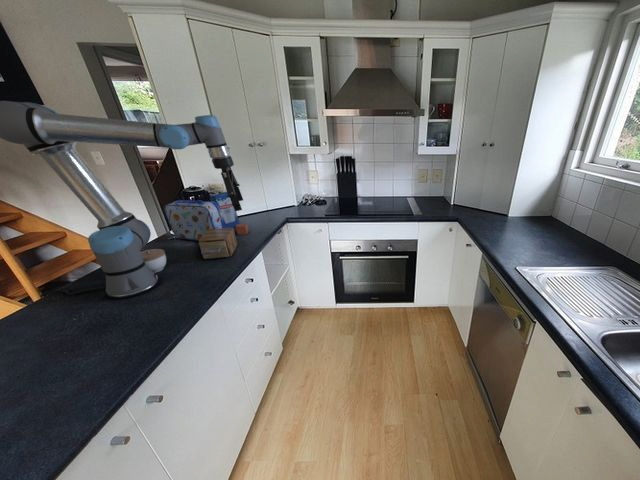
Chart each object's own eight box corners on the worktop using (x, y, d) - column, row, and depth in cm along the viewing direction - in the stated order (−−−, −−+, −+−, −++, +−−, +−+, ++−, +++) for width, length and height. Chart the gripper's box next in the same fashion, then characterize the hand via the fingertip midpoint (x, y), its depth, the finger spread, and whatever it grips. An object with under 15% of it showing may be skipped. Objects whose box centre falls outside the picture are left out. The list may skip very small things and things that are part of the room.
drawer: (225, 261, 124) (221, 245, 121) (200, 263, 122) (195, 248, 118) (234, 245, 140) (230, 231, 137) (212, 247, 138) (207, 233, 134)
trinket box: (153, 277, 113) (145, 257, 109) (132, 274, 115) (123, 254, 111) (176, 265, 122) (169, 246, 118) (156, 263, 124) (148, 244, 120)
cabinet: (231, 256, 131) (226, 237, 127) (204, 258, 128) (198, 240, 124) (237, 244, 144) (233, 227, 140) (213, 246, 141) (207, 229, 137)
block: (237, 234, 156) (235, 226, 154) (239, 231, 160) (237, 223, 158) (247, 234, 157) (245, 226, 155) (248, 231, 161) (246, 223, 159)
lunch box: (231, 235, 155) (221, 197, 145) (220, 242, 145) (208, 202, 136) (185, 233, 157) (173, 195, 147) (171, 240, 147) (157, 200, 138)
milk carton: (223, 229, 163) (215, 196, 155) (218, 227, 166) (209, 195, 157) (239, 224, 171) (231, 193, 162) (233, 223, 174) (225, 191, 165)
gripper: (228, 161, 103) (247, 213, 115) (232, 150, 123) (248, 195, 135) (206, 164, 101) (228, 216, 113) (214, 153, 121) (232, 198, 133)
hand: (239, 205), depth 124 cm, fingers open, 13 cm apart
